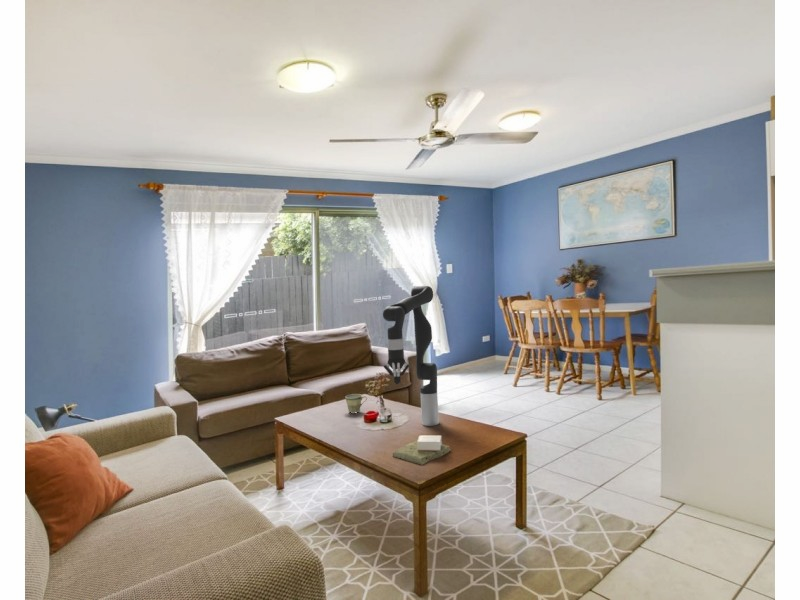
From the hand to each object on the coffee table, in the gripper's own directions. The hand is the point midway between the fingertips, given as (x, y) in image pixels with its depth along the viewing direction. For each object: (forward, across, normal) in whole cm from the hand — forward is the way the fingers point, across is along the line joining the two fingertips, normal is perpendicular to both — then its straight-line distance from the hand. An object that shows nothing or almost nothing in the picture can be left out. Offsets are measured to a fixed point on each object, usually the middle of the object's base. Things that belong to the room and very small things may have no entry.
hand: (397, 383), depth 212 cm
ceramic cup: (+29, +35, -53) cm, 70 cm away
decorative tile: (+30, -12, +12) cm, 35 cm away
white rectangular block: (+24, -10, +12) cm, 29 cm away
